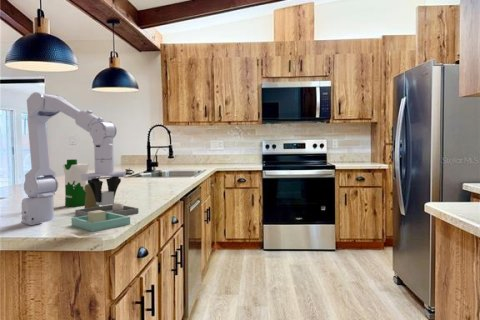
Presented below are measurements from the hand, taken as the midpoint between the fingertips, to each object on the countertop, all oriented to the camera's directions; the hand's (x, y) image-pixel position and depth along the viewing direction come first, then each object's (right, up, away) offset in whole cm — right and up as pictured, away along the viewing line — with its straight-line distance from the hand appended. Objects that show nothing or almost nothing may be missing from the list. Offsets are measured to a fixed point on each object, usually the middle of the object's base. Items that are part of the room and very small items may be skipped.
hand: (105, 201), depth 124 cm
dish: (-2, -8, +1) cm, 9 cm away
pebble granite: (-3, -7, +23) cm, 24 cm away
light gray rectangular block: (0, -1, 0) cm, 1 cm away
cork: (-15, -7, +29) cm, 33 cm away
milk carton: (-27, -7, +43) cm, 51 cm away
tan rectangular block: (-4, -8, +3) cm, 9 cm away
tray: (-6, -8, +19) cm, 22 cm away
